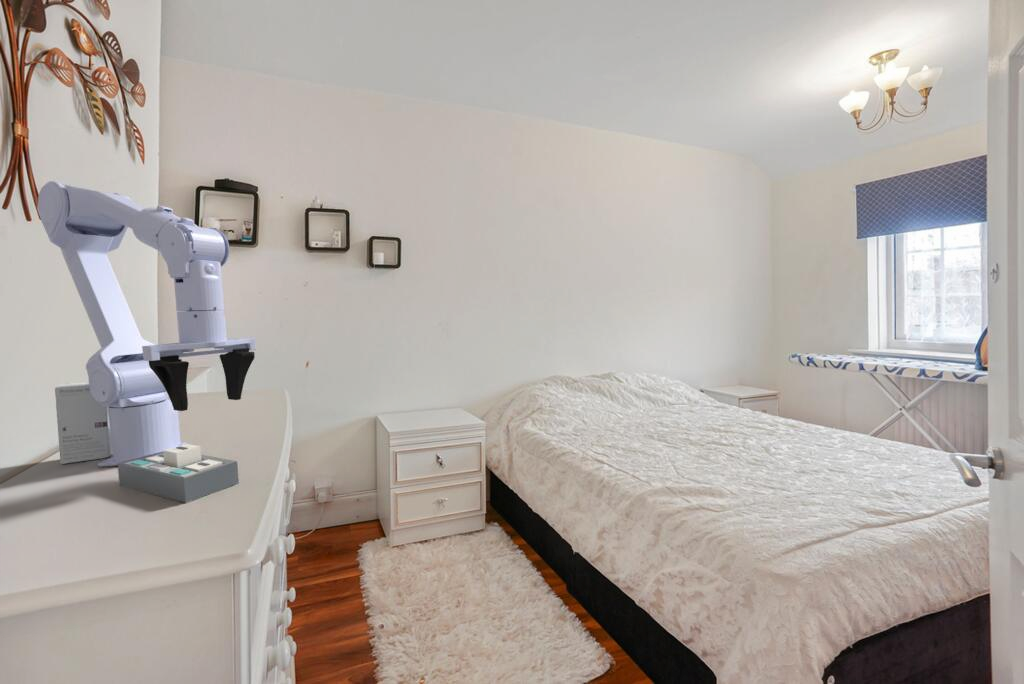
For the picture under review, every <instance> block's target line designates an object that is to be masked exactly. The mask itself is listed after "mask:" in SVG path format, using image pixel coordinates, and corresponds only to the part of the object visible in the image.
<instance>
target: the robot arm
mask: <svg viewBox="0 0 1024 684" xmlns="http://www.w3.org/2000/svg"><path fill="white" fill-rule="evenodd" d="M37 197H38V198H37V209H36V210H37V213H38V216H39V218H40V221H41V223H42V226H43V228H44V230H45V232H46V234H47V236H48V239H49V241H50V243H52V245H55V246H57V247H58V248H59V249H60V251H61V254H62V256H63V259H64V261H65V263H66V266H67V269H68V271H69V274H70V276H71V278H72V281H73V282H74V283H73V284H74V286H75V288H76V290H77V292H78V295H79V298H80V300H81V303H82V304H83V307H84V310H85V312H86V314H87V316H88V317H87V318H88V319H89V321H90V323H91V326H92V329H93V331H94V334H95V336H96V339H97V341H98V343H99V347H100V348H99V349H98V350H96V352H95V353H93V354H92V355H91V357H89V359H88V360H87V362H86V365H85V370H86V372H87V376H88V377H87V378H88V382H89V389H90V392H91V394H92V396H93V398H94V399H95V400H96V401H98V402H99V403H100V404H102V406H105V407H108V415H109V425H110V436H111V446H112V454H111V457H110V458H109V457H108V458H106V460H103V461H101V462H98V463H97V466H98V467H114V466H118V464H117V463H121V462H124V461H128V460H132V459H136V458H139V457H143V456H147V455H151V454H154V453H158V452H162V451H163V450H167V449H171V448H174V447H178V446H182V445H186V444H188V443H187V442H186V441H185V442H181V431H180V420H179V419H180V418H179V412H183V411H188V407H189V400H188V390H187V380H188V379H187V378H188V370H189V365H190V362H189V361H186V360H184V361H183V360H182V358H189V357H196V356H205V355H206V356H208V355H215V354H216V355H217V354H220V355H219V356H218V357H219V359H220V363H221V366H222V368H223V372H224V379H225V388H226V389H225V390H226V395H227V399H228V400H230V401H231V400H233V401H239V400H241V398H242V393H243V388H244V384H245V380H246V376H247V375H248V372H249V369H250V367H251V364H252V363H253V361H254V360H255V356H256V355H255V352H254V351H255V350H256V348H257V346H256V337H239V338H227V327H226V326H227V325H226V315H225V314H226V313H225V301H224V299H225V298H224V288H223V287H224V286H223V277H222V267H223V266H225V264H226V263H227V262H228V259H229V257H230V244H229V240H228V238H227V236H226V235H225V234H224V233H223V232H222V231H220V229H218V228H217V227H201V226H198V225H197V224H196V223H195V220H193V219H191V218H189V217H185V216H184V217H180V216H178V215H175V214H174V209H173V208H171V207H168V206H163V205H157V206H155V207H154V206H153V207H152V206H151V207H147V208H144V207H143V206H142V205H139V204H138V203H136V202H134V201H132V200H131V197H129V196H127V195H124V194H122V193H117V192H113V193H111V192H106V191H101V190H96V189H90V188H86V187H85V188H84V187H78V186H75V185H71V184H70V185H68V184H64V183H61V182H57V181H47V182H46V183H44V185H43V186H42V187H40V190H39V192H38V196H37ZM128 228H129V229H131V230H132V233H133V234H134V237H135V238H136V239H137V240H138V241H139V242H141V243H143V244H144V245H146V246H148V247H151V248H153V249H154V250H156V251H159V252H160V254H161V256H162V258H163V260H164V261H165V262H166V265H167V271H168V275H169V277H170V278H172V279H173V285H174V296H175V308H176V320H177V330H178V342H173V343H172V342H171V343H164V344H163V343H161V344H156V343H153V342H150V341H148V340H146V339H144V338H143V337H142V335H141V333H140V330H139V328H138V325H137V322H136V320H135V319H134V316H133V314H132V312H131V309H130V306H129V305H128V302H127V299H126V297H125V295H124V292H123V290H122V288H121V286H120V283H119V281H118V278H117V276H116V273H115V272H114V270H113V267H112V264H111V262H110V259H109V258H108V254H107V253H109V252H112V251H115V250H118V249H119V247H120V246H121V243H122V241H123V238H124V237H125V235H126V232H127V229H128ZM196 349H197V350H199V349H213V350H203V351H195V350H196Z"/></svg>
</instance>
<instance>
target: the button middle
mask: <svg viewBox="0 0 1024 684" xmlns="http://www.w3.org/2000/svg"><path fill="white" fill-rule="evenodd" d="M163 454H164V465H166V466H171V467H176V468H177V467H181V466H184V465H187V464H190V463H194V462H197V461H200V460H202V457H201V455H202V447H201V446H200V445H197V444H196V445H195V444H189V443H187V444H186V445H182V446H178V447H174V448H171V449H167V450H163Z"/></svg>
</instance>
